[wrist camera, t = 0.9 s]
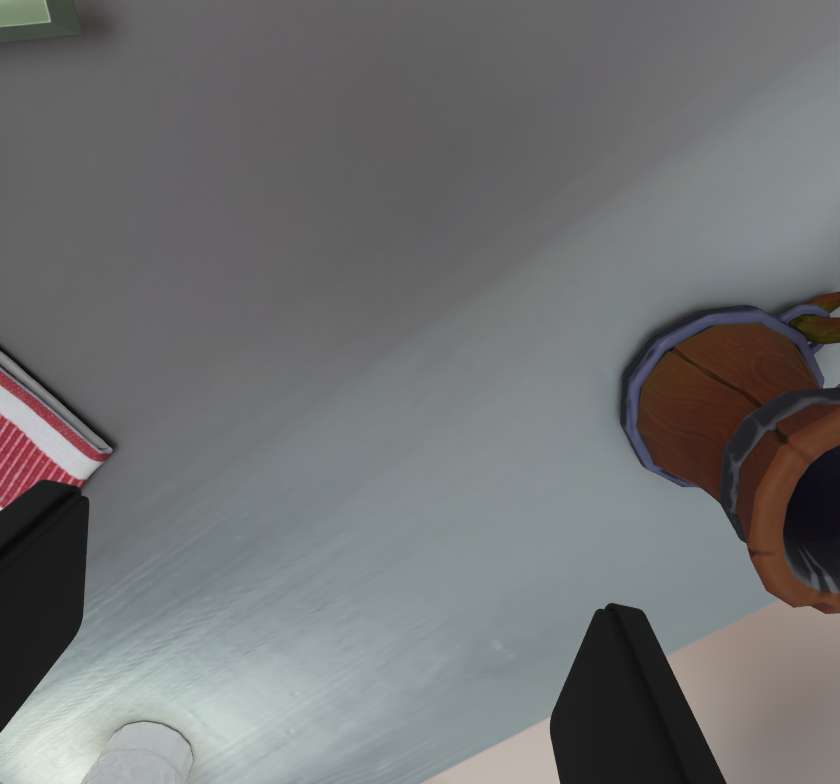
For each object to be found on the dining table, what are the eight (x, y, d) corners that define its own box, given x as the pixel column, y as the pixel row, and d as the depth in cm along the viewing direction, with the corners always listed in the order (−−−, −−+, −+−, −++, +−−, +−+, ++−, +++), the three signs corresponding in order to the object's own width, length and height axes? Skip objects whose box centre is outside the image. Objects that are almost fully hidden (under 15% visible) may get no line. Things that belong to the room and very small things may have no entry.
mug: (825, 171, 32) (1132, 166, 18) (940, 315, 35) (1290, 410, 20) (574, 397, 37) (661, 534, 23) (692, 510, 39) (836, 696, 25)
